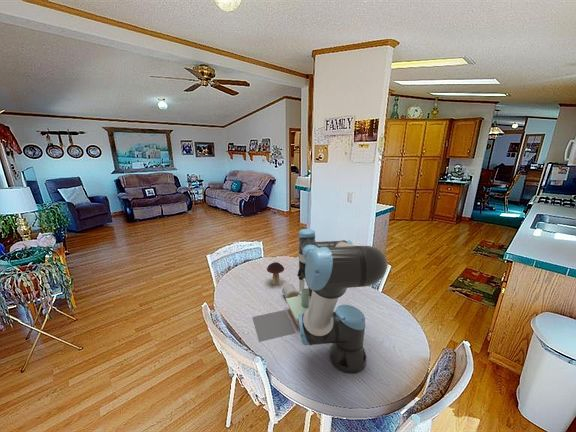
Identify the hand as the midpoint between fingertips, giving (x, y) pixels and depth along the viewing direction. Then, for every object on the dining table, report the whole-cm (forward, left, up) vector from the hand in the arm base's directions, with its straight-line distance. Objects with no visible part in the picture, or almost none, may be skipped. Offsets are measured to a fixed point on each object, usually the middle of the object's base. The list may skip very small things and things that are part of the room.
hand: (306, 298), depth 131 cm
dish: (0, 0, -11) cm, 11 cm away
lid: (0, 0, -5) cm, 5 cm away
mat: (-1, +18, -11) cm, 21 cm away
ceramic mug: (+18, +2, -11) cm, 21 cm away
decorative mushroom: (+35, +7, -11) cm, 37 cm away
